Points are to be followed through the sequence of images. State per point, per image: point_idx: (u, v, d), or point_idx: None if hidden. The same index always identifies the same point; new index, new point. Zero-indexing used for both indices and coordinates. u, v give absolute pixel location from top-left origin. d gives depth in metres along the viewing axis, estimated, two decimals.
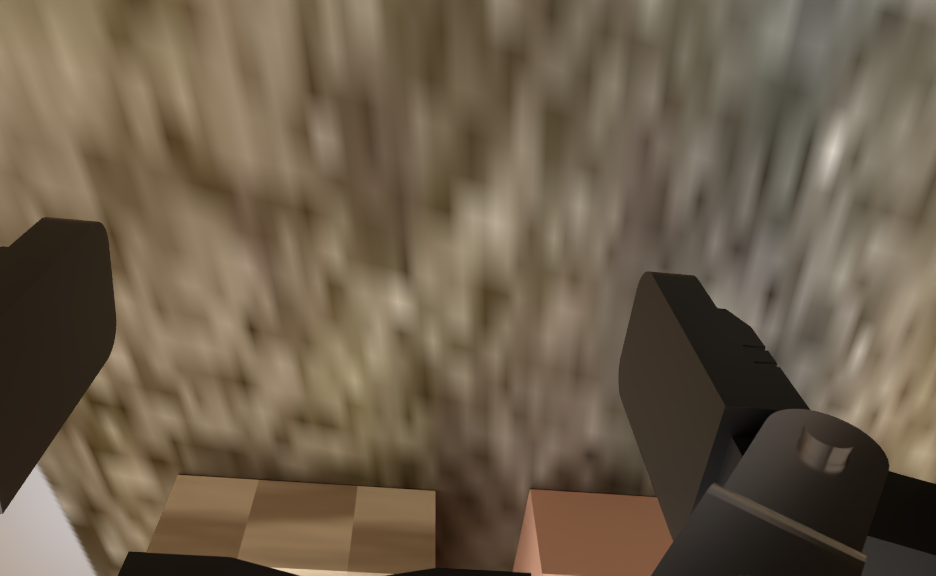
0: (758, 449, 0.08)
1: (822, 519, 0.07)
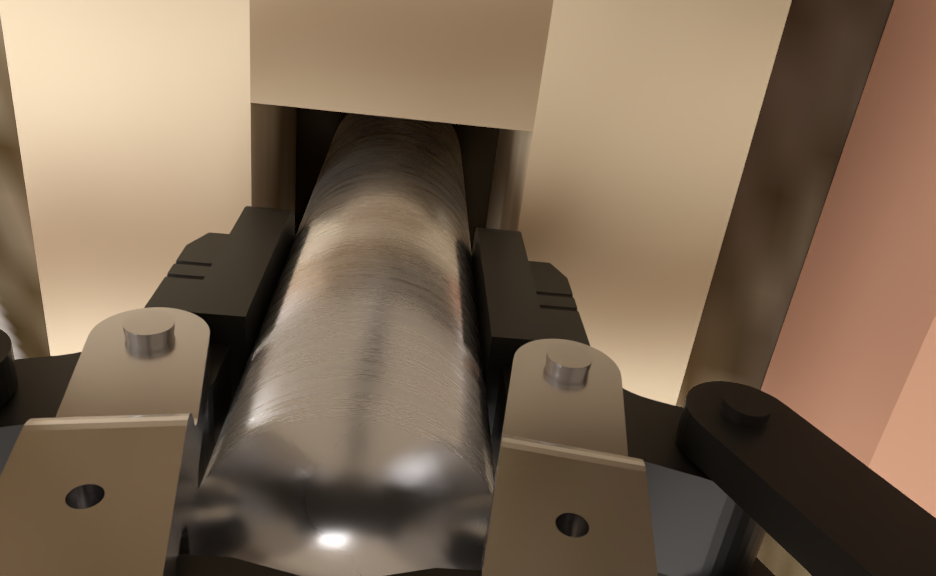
0: (517, 388, 0.08)
1: (589, 436, 0.08)
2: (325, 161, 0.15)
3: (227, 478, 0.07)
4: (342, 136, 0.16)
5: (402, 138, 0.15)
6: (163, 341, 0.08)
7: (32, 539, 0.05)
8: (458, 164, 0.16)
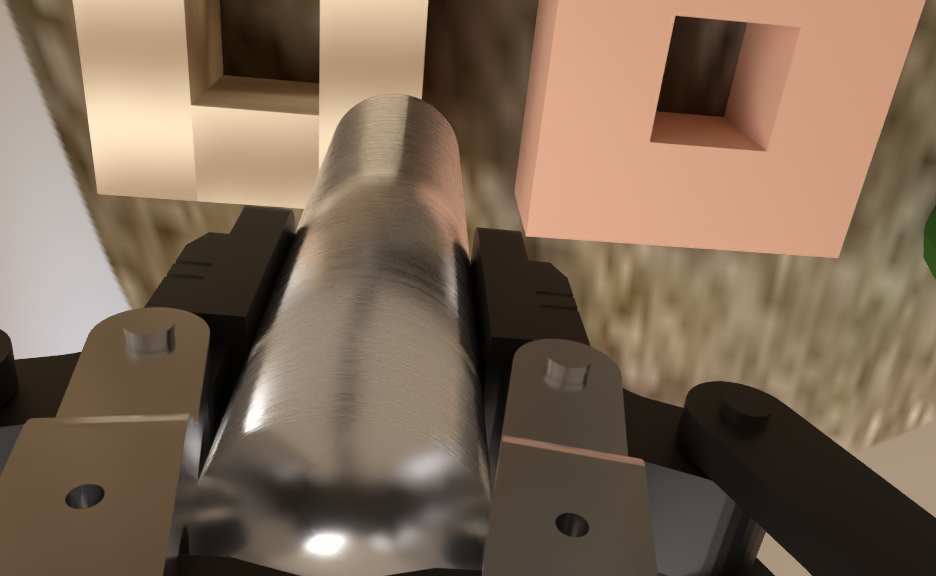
0: (518, 388, 0.08)
1: (589, 436, 0.08)
2: (323, 162, 0.15)
3: (223, 479, 0.07)
4: (340, 137, 0.16)
5: (400, 138, 0.15)
6: (164, 341, 0.08)
7: (32, 539, 0.05)
8: (456, 165, 0.16)
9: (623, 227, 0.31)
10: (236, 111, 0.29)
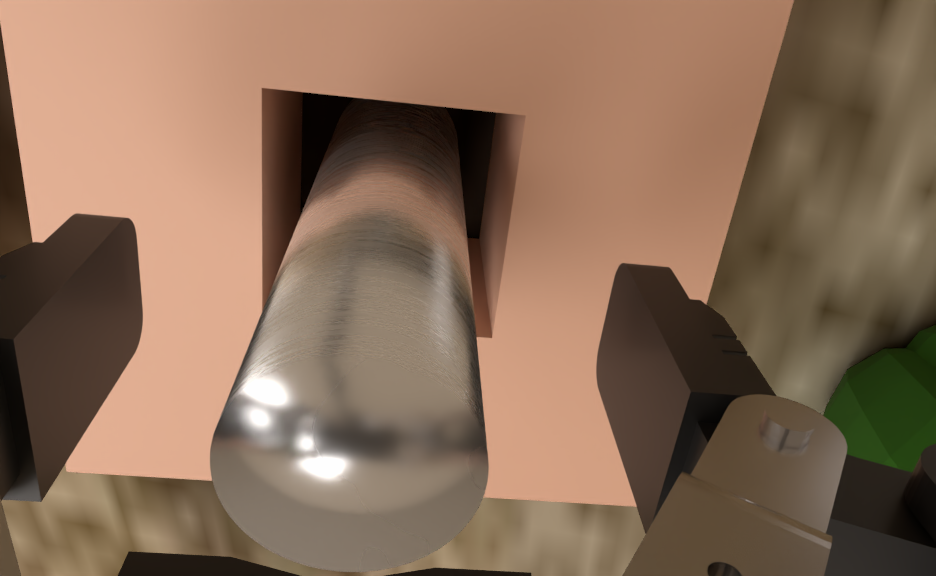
0: (722, 436, 0.08)
1: (787, 502, 0.07)
2: (329, 146, 0.16)
3: (244, 411, 0.08)
4: (345, 123, 0.17)
5: (402, 123, 0.16)
6: None
7: None
8: (454, 150, 0.17)
9: None
10: None
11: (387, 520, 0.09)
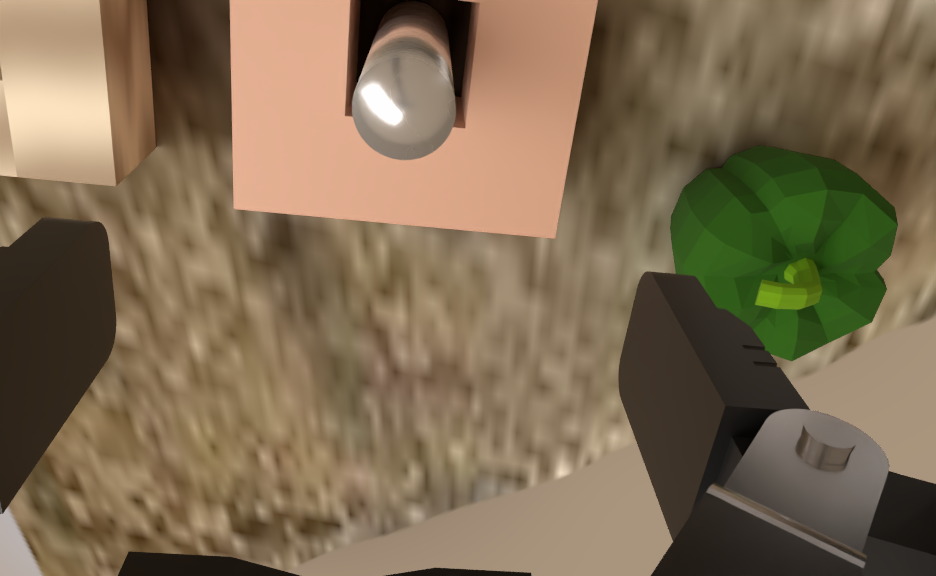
0: (758, 449, 0.08)
1: (822, 519, 0.07)
2: (378, 28, 0.31)
3: (366, 81, 0.22)
4: (386, 17, 0.31)
5: (418, 13, 0.30)
6: None
7: None
8: (446, 32, 0.31)
9: (331, 202, 0.31)
10: None
11: (417, 134, 0.23)
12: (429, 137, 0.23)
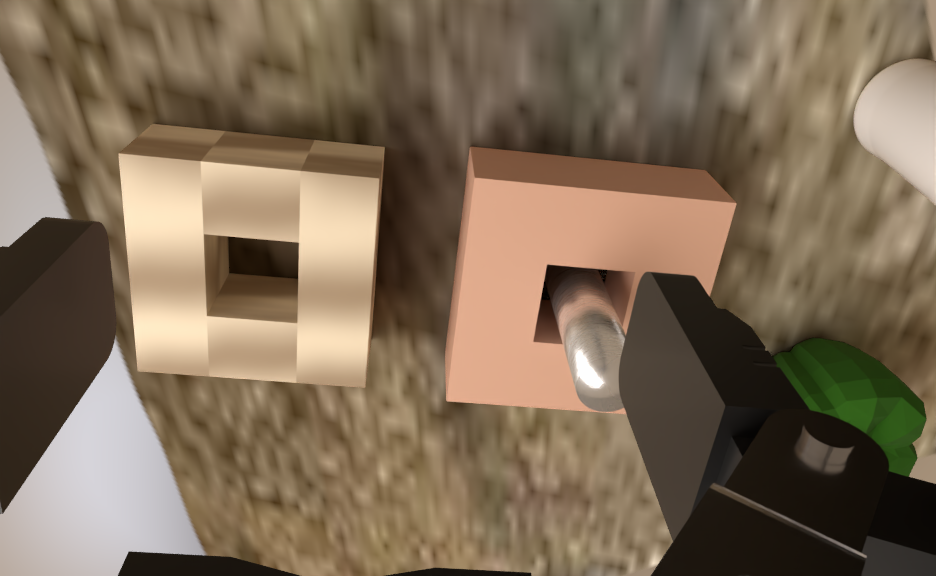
0: (758, 449, 0.08)
1: (822, 519, 0.07)
2: (554, 275, 0.43)
3: (587, 369, 0.34)
4: (558, 265, 0.43)
5: (585, 269, 0.42)
6: None
7: None
8: (600, 275, 0.43)
9: (517, 396, 0.43)
10: (239, 320, 0.41)
11: (616, 397, 0.35)
12: None
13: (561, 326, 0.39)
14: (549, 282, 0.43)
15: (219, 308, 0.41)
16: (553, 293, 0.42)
